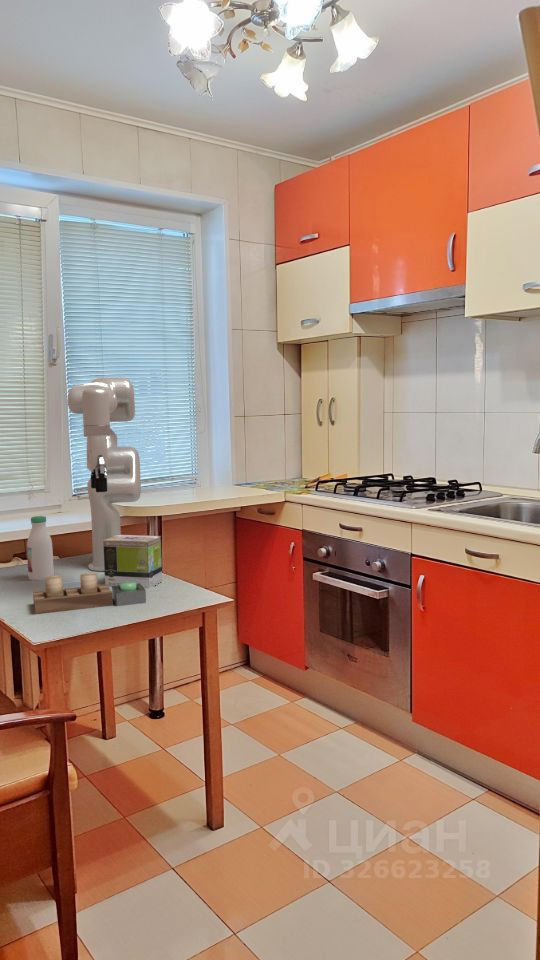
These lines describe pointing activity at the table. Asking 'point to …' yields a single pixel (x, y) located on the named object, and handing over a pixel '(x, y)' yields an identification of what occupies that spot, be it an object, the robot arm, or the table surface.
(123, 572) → the tea box
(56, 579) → the dowel
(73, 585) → the shallow grey square tray
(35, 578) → the milk bottle
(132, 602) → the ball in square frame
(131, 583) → the button
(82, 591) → the seated dowel
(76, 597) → the wooden dowel rack
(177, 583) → the table surface
